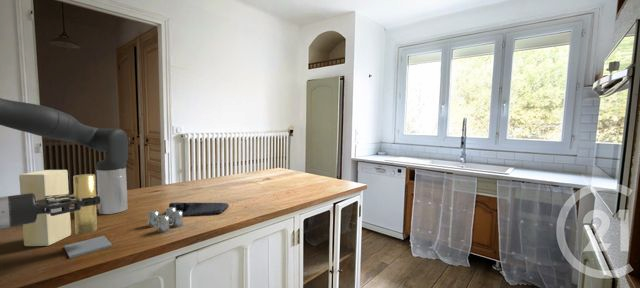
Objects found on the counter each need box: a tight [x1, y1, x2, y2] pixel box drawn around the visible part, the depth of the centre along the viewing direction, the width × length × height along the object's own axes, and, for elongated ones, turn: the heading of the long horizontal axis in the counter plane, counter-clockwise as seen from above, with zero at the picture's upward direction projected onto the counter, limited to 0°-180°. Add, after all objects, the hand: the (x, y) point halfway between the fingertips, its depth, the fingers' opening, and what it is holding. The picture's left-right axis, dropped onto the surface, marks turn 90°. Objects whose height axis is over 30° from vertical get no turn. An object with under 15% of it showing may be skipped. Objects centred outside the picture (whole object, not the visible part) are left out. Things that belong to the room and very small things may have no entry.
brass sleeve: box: [72, 173, 98, 235], centre depth 74 cm, size 5×5×16 cm
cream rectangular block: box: [18, 169, 72, 247], centre depth 79 cm, size 8×7×21 cm
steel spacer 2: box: [157, 214, 170, 234], centre depth 87 cm, size 3×3×5 cm
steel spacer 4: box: [171, 210, 184, 228], centre depth 92 cm, size 3×3×5 cm
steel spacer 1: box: [147, 210, 160, 228], centre depth 92 cm, size 3×3×5 cm
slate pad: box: [63, 235, 113, 259], centre depth 76 cm, size 9×9×1 cm
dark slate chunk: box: [168, 202, 230, 217], centre depth 108 cm, size 15×22×5 cm
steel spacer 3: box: [165, 207, 176, 224], centre depth 95 cm, size 3×3×5 cm
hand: (97, 198), depth 76 cm, fingers closed on brass sleeve, 4 cm apart
